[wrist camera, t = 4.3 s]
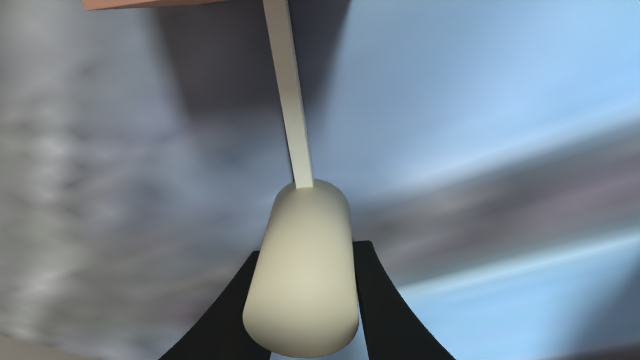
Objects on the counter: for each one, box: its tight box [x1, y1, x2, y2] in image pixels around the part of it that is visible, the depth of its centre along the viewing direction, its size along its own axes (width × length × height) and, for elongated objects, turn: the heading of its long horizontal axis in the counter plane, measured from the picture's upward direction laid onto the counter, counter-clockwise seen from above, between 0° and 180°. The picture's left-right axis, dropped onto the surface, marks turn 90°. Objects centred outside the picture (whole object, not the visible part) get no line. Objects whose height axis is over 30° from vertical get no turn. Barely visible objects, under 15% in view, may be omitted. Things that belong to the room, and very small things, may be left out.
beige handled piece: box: [82, 0, 359, 358], centre depth 8 cm, size 4×14×5 cm, turn 7°
